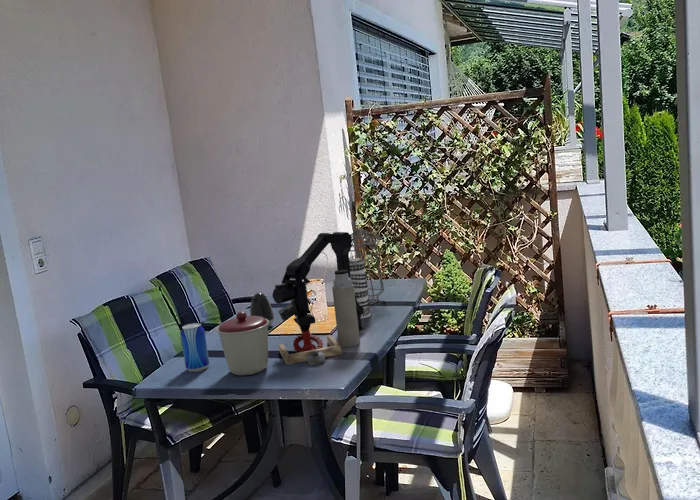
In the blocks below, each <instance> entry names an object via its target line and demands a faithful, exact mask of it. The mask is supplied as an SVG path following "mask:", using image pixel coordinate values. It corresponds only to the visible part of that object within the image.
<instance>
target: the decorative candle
mask: <svg viewBox="0 0 700 500" xmlns="http://www.w3.org/2000/svg"><path fill="white" fill-rule="evenodd" d="M364 263H365V261H363V260H362V258H361V257H359V258H358V257H352V258H350V259H349V264H350V275H351V280H352V281H351V283H352V284H354V293H355V295H356V298H357V302H358V304H359V305H360V306H361V307H362V308H363V309H364V310H363V314H361V315H360V317H361V320H362V319H366V318H369V317H370V316H371V315H372V314H371V310H370V309H371V306H370V305H369V304H370V301H369V299H370V298H369V299H368V295H369V294H368V295H367V289H368V288H369V285H368V281H367V282H366V280H365V279H367V280H368V277H367V276H368V273H365V271H366V267H365V268H364ZM365 276H366V277H365ZM366 284H367V285H366ZM368 290H369V289H368Z"/></svg>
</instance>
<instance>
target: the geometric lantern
mask: <svg viewBox="0 0 700 500" xmlns="http://www.w3.org/2000/svg"><path fill="white" fill-rule="evenodd" d="M369 234H370V235H373V236H375V237H373V236H370V235H369ZM350 235H351V237H352V247H351V248H353V249H351V250H350V255H349V259H352V258H355V257H357V258H361V259H362V260H363V261H364V268H365V269H366V263H365V261H366V262H367V269H368V274H369V279H370V286H371V287H367V288H368V289H367V295H368V299H369V303H370V304H369V305H368V306H370V305H374V304H375V303H377V302H379V301H380V299H379V297H380V296H381V294H383V293H385V288H384V283H383V282H384V281H383V277H382V271H381V267H380V262H379V254H378V250H377V245H378V244H379V243H380V241H381V240H382V239H383V237H382V236H380V235H378V234H375V233H373V232H371V231H368V230H365V229H364V228H360V227H359V228H357V229H356V230H354V231H353V232H352V233H350ZM359 235H360V236H359ZM358 239H359V240H360V241H362V242H363V243H359V244H357V240H358ZM370 239H371V240H370ZM374 239H376V240H374ZM365 240H366V241H365ZM376 242H377V243H376ZM358 246H359V247H358ZM367 246H369V248H370V249H371V250H370V251H369V253H364V251H365V249H366V247H367ZM356 247H358V248H356ZM362 247H363V250H362V252H361V253H360V252H359V251H358V250H359V249H361V248H362ZM373 250H375V253H372V251H373ZM353 252H356V254H355V255H353V256H352V254H353ZM367 255H368V257H367V259H365V258H364V256H367ZM370 256H372V257H370ZM375 257H376V261H377V262H376V263H377V268H378V276H379V283H380V288H374V287H373V281H372V275H371V274H372V273H371V270H370V262H369V260H371V259H374V258H375ZM366 271H367V270H365V273H366ZM366 274H367V273H366ZM365 277H367V275H366V276H365ZM365 280H366V282H367V284H366V285H367V286H368V281H367V280H368V278H367V279H365ZM369 290H371V291H372V292H371V293H372V294H369ZM376 290H377V291H379V292H378V293H376V294H375V293H374V291H376Z"/></svg>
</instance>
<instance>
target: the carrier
mask: <svg viewBox="0 0 700 500" xmlns="http://www.w3.org/2000/svg"><path fill="white" fill-rule="evenodd" d="M326 341H327V344H328V345H329V346H326V347H323V348H320V349H315V350H310V351H304V352H295V353H289V352H288V349H287V348H286V346H285V345H284V344H283V343H279V344H278V348H279V354H280V355H281V357H282V359H283V360H284V363H285V364H286V365H291V364H292V365H293V364H296V363H297V364H298V363H302V362H306V361H307V364H308V365H310V366H318V365H322V364H324V363H325V362H326V358H329V357H332V356H338V355H342V354H343V353H342V346H340V345H339V341H337V340H336V339H335V338H334V337H333V336H332V335H331V334H328V335H326Z"/></svg>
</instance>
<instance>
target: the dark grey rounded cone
mask: <svg viewBox="0 0 700 500" xmlns="http://www.w3.org/2000/svg"><path fill="white" fill-rule="evenodd" d="M250 300H251V301H250V302H251V303H250V307H249V308H250V309H249V316H260V317H263V318H265V319H268V320H269V324H268V328H270V327H271V326H272V325H273V323H274V318H275V315H274V311H273V307H272V305H271V303H270V301H269V299H268V297H267V296H266V295H265V294H264V293H263V292H256V293H255V294H254V295H253V296H252V297H251V298H250Z"/></svg>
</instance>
